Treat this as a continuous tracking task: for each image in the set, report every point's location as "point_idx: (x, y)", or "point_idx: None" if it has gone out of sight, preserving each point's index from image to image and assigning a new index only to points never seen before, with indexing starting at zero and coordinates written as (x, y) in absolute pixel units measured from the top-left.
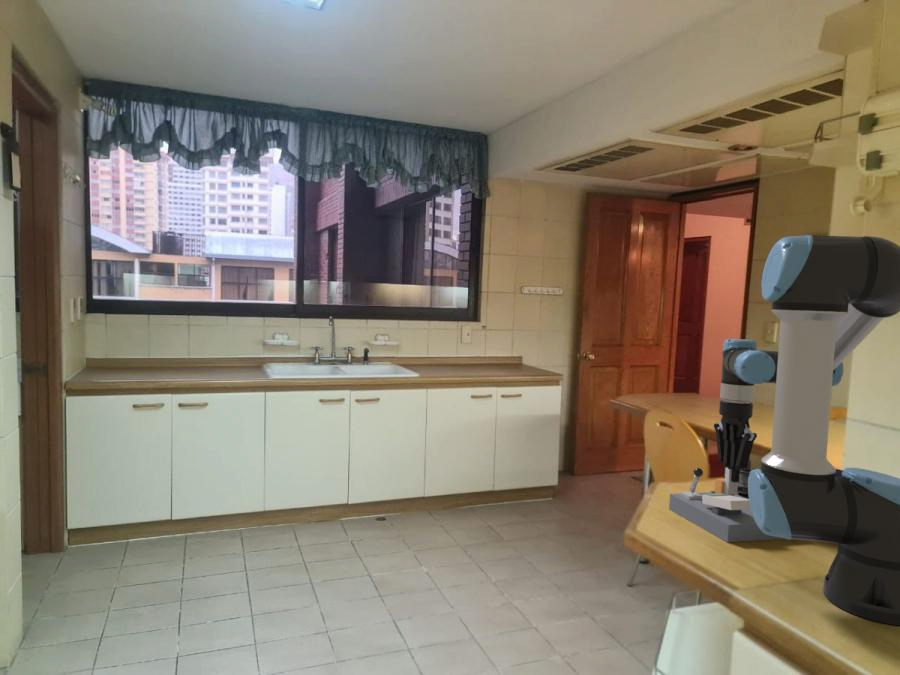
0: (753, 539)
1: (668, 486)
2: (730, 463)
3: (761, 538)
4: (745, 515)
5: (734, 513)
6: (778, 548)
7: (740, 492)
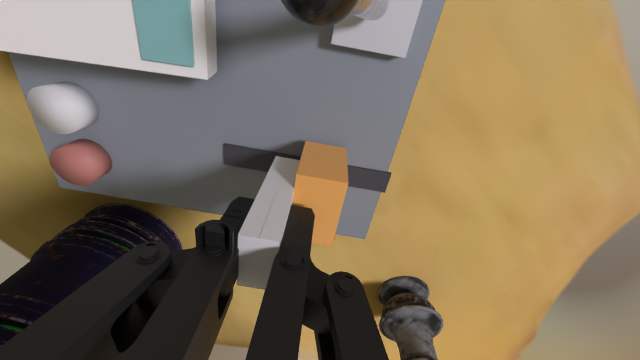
0: None
1: (612, 185)
2: (221, 269)
3: None
4: None
5: None
6: None
7: (401, 294)
